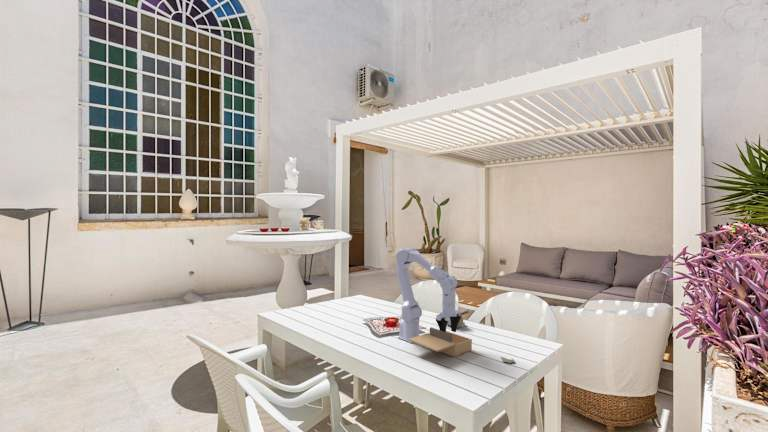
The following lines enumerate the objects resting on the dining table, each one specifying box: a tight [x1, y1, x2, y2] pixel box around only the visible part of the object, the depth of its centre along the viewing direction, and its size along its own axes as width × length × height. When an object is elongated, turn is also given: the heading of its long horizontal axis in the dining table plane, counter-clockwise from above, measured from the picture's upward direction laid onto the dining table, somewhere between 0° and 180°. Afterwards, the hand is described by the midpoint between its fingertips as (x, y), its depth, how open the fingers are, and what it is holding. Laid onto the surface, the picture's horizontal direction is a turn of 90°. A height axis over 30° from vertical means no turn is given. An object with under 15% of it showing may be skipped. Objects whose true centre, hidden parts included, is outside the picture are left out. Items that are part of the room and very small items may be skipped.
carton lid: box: [408, 326, 457, 353], centre depth 155 cm, size 17×13×4 cm
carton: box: [439, 330, 473, 358], centre depth 162 cm, size 16×12×5 cm
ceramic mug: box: [445, 314, 466, 329], centre depth 195 cm, size 11×8×8 cm
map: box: [500, 356, 515, 364], centre depth 156 cm, size 5×20×1 cm, turn 170°
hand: (448, 333), depth 162 cm, fingers open, 7 cm apart
